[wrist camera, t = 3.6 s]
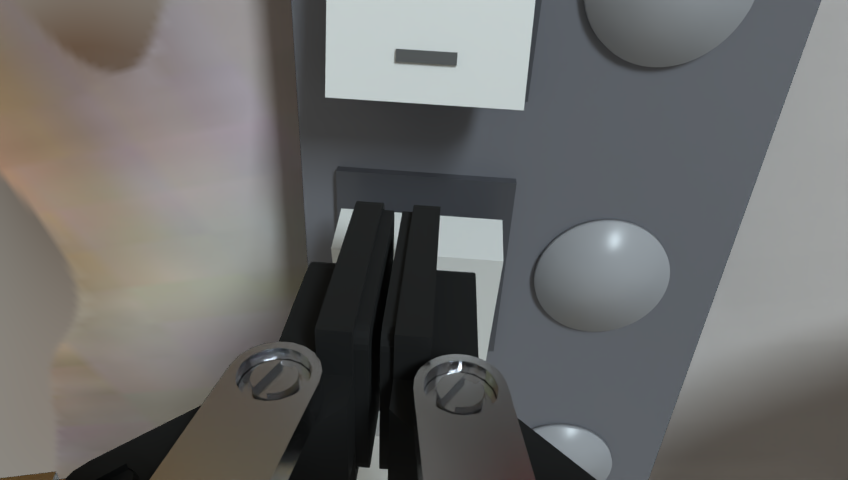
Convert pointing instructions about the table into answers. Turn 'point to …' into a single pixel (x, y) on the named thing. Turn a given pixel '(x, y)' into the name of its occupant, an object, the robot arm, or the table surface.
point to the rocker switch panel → (580, 195)
